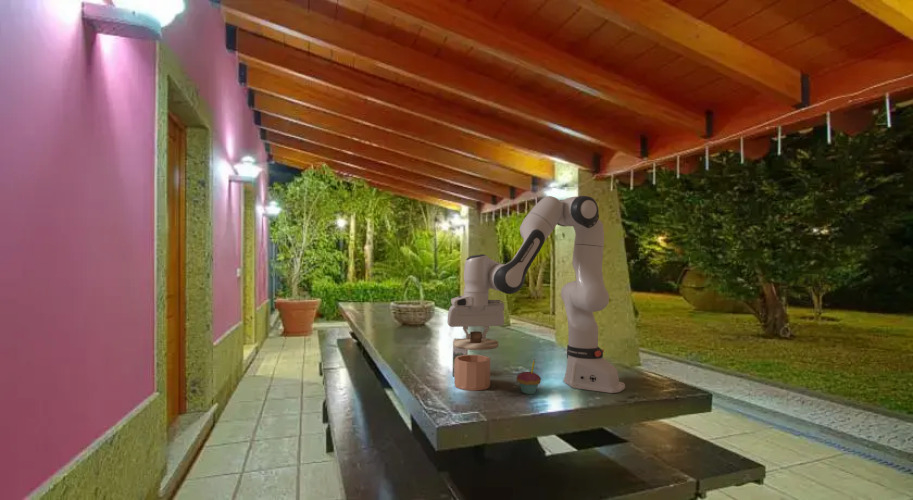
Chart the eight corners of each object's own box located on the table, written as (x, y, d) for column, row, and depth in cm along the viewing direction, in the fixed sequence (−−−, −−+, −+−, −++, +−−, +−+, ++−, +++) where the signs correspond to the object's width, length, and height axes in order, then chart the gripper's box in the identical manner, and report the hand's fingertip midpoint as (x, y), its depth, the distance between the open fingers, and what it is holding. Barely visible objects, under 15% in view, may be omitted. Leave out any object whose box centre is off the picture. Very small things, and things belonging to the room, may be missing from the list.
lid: (506, 344, 166) (506, 331, 166) (483, 352, 153) (483, 337, 153) (469, 339, 175) (469, 327, 175) (444, 346, 162) (444, 332, 162)
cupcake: (542, 390, 167) (542, 356, 167) (538, 396, 159) (539, 361, 159) (518, 387, 170) (519, 354, 170) (513, 393, 162) (514, 359, 162)
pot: (496, 384, 173) (496, 358, 173) (477, 392, 162) (477, 364, 162) (467, 378, 180) (468, 353, 181) (447, 386, 170) (448, 359, 170)
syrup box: (467, 373, 188) (468, 338, 188) (466, 377, 182) (467, 340, 183) (453, 373, 189) (454, 337, 189) (452, 377, 183) (452, 340, 183)
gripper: (501, 298, 169) (501, 336, 169) (446, 299, 166) (446, 337, 166) (506, 300, 163) (506, 339, 163) (449, 301, 160) (449, 341, 159)
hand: (475, 338), depth 164 cm, fingers closed on lid, 4 cm apart
